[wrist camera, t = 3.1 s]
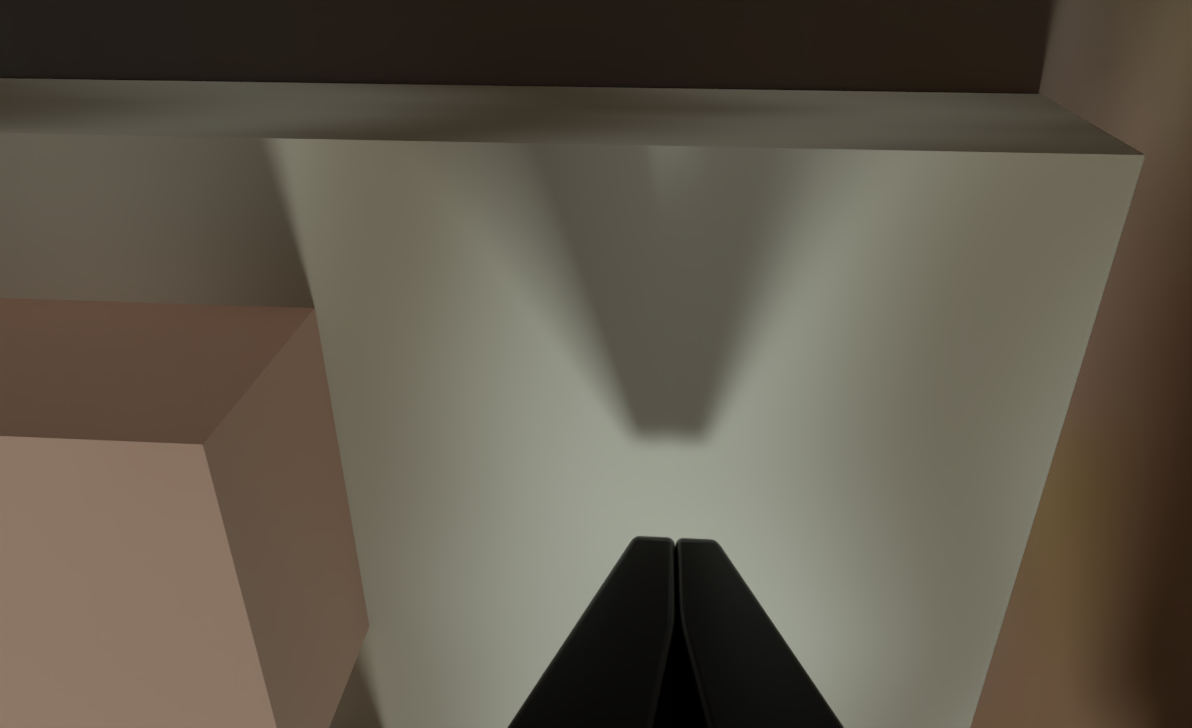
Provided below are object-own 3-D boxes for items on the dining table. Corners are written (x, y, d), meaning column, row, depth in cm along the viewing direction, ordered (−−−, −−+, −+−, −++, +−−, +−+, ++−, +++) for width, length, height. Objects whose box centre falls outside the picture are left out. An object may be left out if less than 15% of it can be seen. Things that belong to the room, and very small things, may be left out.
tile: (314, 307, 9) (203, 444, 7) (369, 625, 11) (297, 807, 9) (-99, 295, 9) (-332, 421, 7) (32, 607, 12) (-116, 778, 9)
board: (1041, 94, 10) (1145, 154, 8) (852, 879, 17) (879, 1025, 15) (-133, 76, 11) (-337, 127, 9) (160, 830, 18) (91, 961, 16)
